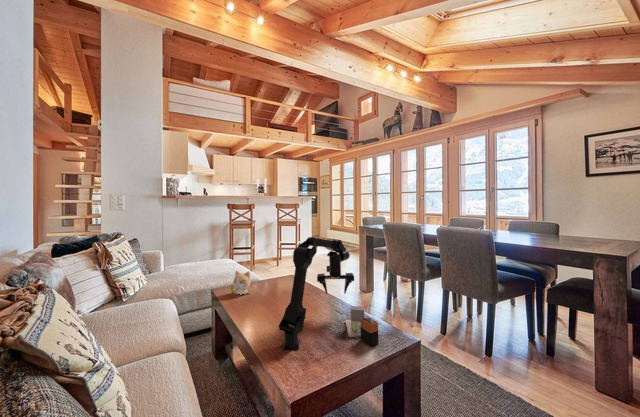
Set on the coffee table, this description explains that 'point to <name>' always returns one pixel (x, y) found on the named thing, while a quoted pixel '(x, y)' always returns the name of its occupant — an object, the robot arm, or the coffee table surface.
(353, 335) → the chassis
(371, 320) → the battery
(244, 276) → the kitten
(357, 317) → the grey block
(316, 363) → the coffee table surface
